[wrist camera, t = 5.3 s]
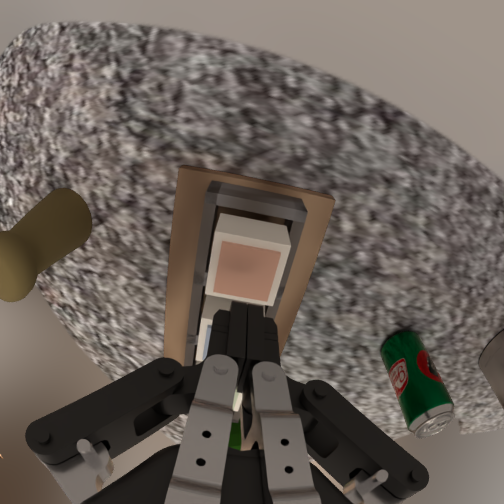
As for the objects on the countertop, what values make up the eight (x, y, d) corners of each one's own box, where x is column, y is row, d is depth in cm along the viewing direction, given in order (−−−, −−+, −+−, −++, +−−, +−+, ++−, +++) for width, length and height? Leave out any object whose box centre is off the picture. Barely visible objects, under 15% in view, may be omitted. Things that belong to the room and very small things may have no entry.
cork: (103, 231, 25) (37, 302, 15) (64, 255, 26) (2, 323, 17) (70, 175, 23) (-13, 224, 13) (34, 206, 24) (-40, 259, 14)
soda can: (382, 332, 30) (419, 421, 20) (421, 324, 30) (465, 404, 19) (376, 362, 33) (405, 445, 22) (413, 354, 32) (448, 431, 22)
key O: (286, 225, 20) (291, 248, 17) (270, 281, 22) (273, 309, 19) (220, 212, 20) (214, 233, 17) (210, 270, 22) (204, 296, 19)
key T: (264, 302, 23) (265, 331, 20) (252, 343, 25) (252, 372, 22) (207, 292, 23) (200, 320, 20) (200, 334, 25) (195, 363, 22)
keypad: (331, 195, 24) (346, 213, 20) (258, 400, 36) (258, 427, 32) (182, 164, 23) (168, 177, 19) (165, 384, 35) (158, 410, 31)
